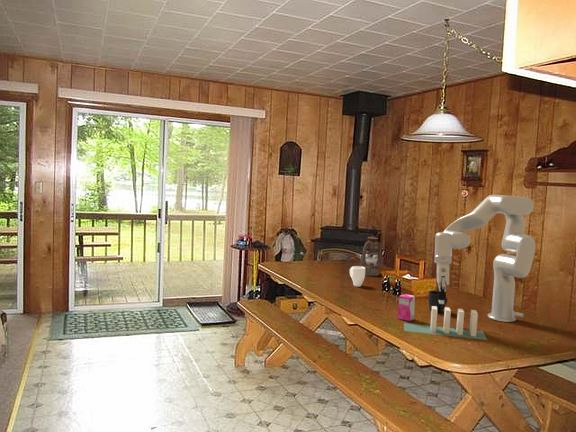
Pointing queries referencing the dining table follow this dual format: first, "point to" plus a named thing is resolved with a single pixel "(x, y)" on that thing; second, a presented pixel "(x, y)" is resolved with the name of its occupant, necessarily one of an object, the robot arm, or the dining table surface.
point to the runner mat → (440, 331)
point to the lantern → (372, 250)
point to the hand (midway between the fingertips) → (441, 297)
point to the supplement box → (406, 307)
